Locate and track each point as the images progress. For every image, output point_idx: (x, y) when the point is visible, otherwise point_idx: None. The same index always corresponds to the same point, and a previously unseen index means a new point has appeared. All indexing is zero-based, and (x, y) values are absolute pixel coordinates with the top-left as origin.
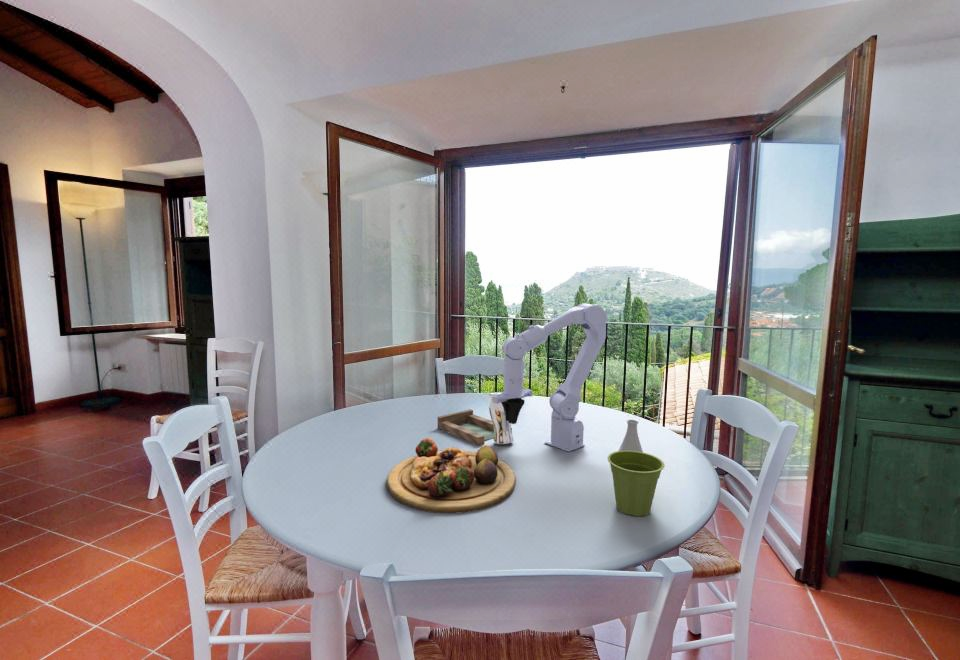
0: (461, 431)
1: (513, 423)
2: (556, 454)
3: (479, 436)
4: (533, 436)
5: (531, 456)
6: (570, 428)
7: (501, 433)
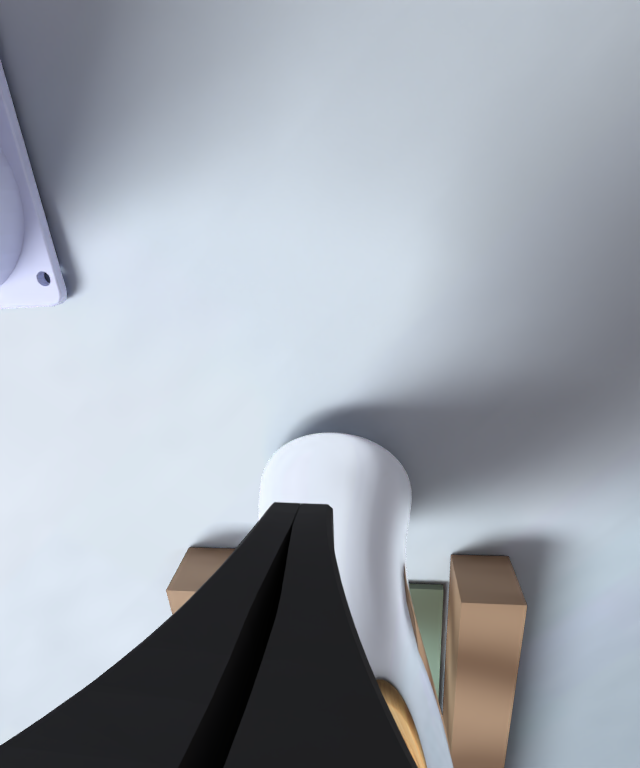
0: (506, 733)
1: (326, 507)
2: (118, 24)
3: (500, 614)
4: (66, 452)
5: (348, 139)
6: None
7: (389, 526)
